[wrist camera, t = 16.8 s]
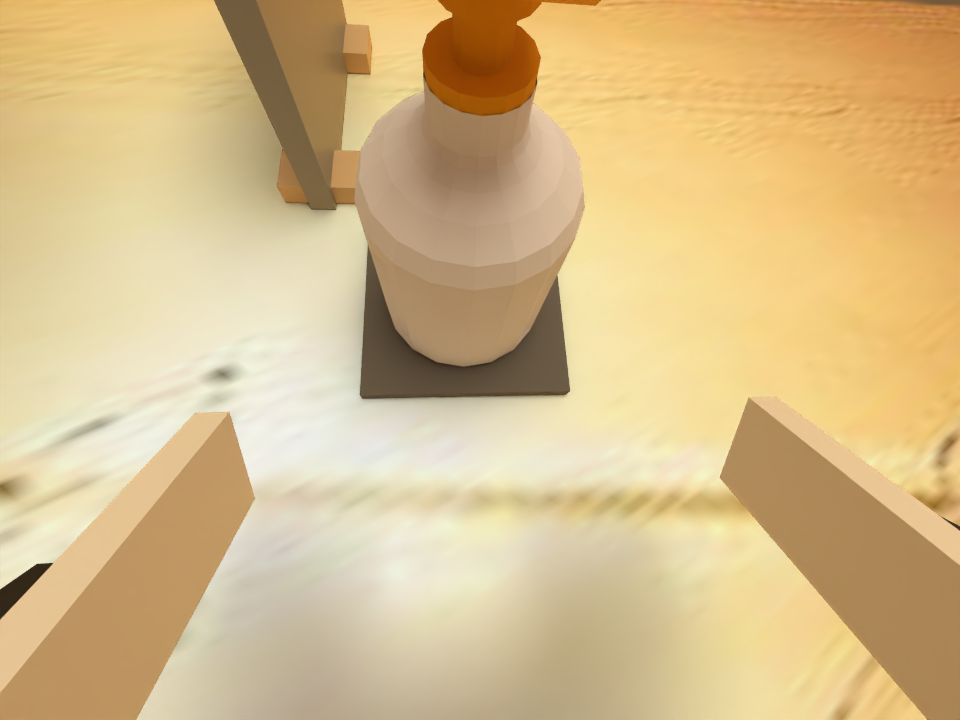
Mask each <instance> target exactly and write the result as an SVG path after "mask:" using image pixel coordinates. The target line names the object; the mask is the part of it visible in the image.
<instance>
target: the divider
mask: <svg viewBox="0 0 960 720" xmlns="http://www.w3.org/2000/svg"><path fill="white" fill-rule="evenodd" d="M214 1H215V3H216V6H217V8H218V10H219V12H220V14H221V16H222V18H223V21H224V23H225V25H226V27H227V29H228V31H229V33H230V36H231V38H232V40H233V42H234V44H235V46H236V49H237V51H238V53H239V55H240V57H241V59H242V61H243V63H244V66H245V68H246V70H247V72H248V74H249V76H250V79H251V81H252V83H253V85H254V87H255V89H256V91H257V93H258V96H259V98H260V100H261V102H262V104H263V106H264V109H265V111H266V113H267V115H268V117H269V119H270V121H271V124H272V126H273V128H274V130H275V132H276V134H277V136H278V139H279V141H280V143H281V145H282V147H283V149H282V155H281V162H280V169H279V176H278V183H277V187H278V189H279V191H280V192H281V194H282V196H283V198H284V200H285V202H301V203H309V205H310V207H311V209H336V203H352V204H355V201H354V198H355V186H356V175H357V166H358V161H359V157H360V153H361V152H360V151H341V144H342V132H343V120H344V108H345V97H346V85H347V73H362V74H370V68H371V52H372V44H371V38H370V32H369V26H367V25H349V24H347V23H346V18H345V13H344V8H343V4H342V0H214Z"/></svg>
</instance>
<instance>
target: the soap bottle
mask: <svg viewBox="0 0 960 720" xmlns="http://www.w3.org/2000/svg"><path fill="white" fill-rule="evenodd" d="M438 1H439V2H440V3H441V4H442V5H443V6H444V8H445V9H446V10H448V11H450V12H451V13H452V18H449V19H447V20H444V21H441V22H440V23H439V24H438V25H437V26H436V27H435V28H433V29H432V30H431V31H430V32H429V33H428V34H427V37H426V40H425V43H424V47H423V50H422V53H423V71H424V72H423V78H424V91H423V92H421V93H418V94H415V95H413V96H411V97H409V98H406V99H404V100H402V101H401V102H400V103H399V104H397V105H396V106H395V107H394V108H392V109H391V110H390V111H389V112H387V113H386V114H385V115H384V116H382V117H381V118H380V119H379V120H377V122H376V124H375V126H374V127H373V129H372V131H371V133H370V134H369V136H368V138H367V140H366V141H365V143H364V145H363V147H362V149H361V153H360V157H359V161H358V166H357V175H356V186H355V198H354V201H355V204H356V207H357V210H358V214H359V217H360V220H361V223H362V227H363V230H364V233H365V236H366V239H367V243H368V246H369V249H370V252H371V255H372V259H373V262H374V265H375V268H376V272H377V275H378V278H379V281H380V284H381V288H382V291H383V294H384V297H385V300H386V304H387V307H388V310H389V312H390V315H391V318H392V321H393V324H394V327H395V329H396V330H397V332H398V333H399V334H400V335H401V336H402V337H403V339H404V340H405V341H406V342H407V343H408V344H409V345H410V347H411V348H412V349H414V350H415V351H417V352H419V353H421V354H423V355H424V356H426V357H428V358H430V359H432V360H433V361H435V362H439V363H444V364H450V365H456V366H462V367H466V366H472V365H478V364H483V363H489V362H492V361H494V360H496V359H498V358H499V357H501V356H503V355H505V354H507V353H508V352H510V351H512V350H514V349H515V348H516V346H517V345H518V344H519V343H520V342H521V340H522V339H523V338H524V337H525V336H526V334H527V333H528V332H529V331H530V329H531V327H532V325H533V323H534V321H535V319H536V317H537V315H538V313H539V311H540V309H541V307H542V305H543V303H544V301H545V299H546V297H547V295H548V293H549V291H550V288H551V286H552V284H553V282H554V280H555V278H556V276H557V274H558V272H559V270H560V268H561V266H562V264H563V262H564V260H565V258H566V256H567V254H568V252H569V250H570V248H571V246H572V244H573V242H574V240H575V237H576V234H577V230H578V227H579V224H580V221H581V217H582V214H583V211H584V208H585V206H584V192H583V182H582V174H581V166H580V158H579V156H578V154H577V152H576V150H575V149H574V147H573V145H572V143H571V141H570V140H569V138H568V136H567V134H566V132H565V131H564V129H563V128H562V127H561V126H559V125H558V124H557V123H556V122H555V121H554V120H553V119H552V118H550V117H549V116H548V115H547V114H546V113H545V112H544V111H543V110H541V109H540V108H539V107H538V106H537V105H535V104H534V103H533V100H534V95H535V91H536V86H537V75H538V69H539V64H540V58H541V57H540V54H539V51H538V49H537V46H536V43H535V41H534V40H533V39H532V38H531V37H530V36H529V35H528V34H527V33H526V32H525V31H524V29H523V28H522V27H520V26H518V25H516V24H517V21H519V20H521V19H523V18H526V17H528V16H530V15H531V14H532V13H533V12H534V11H535V10H536V9H537V8H538V7H539V6H540V4H541V2H551V3H565V4H579V5H594V6H596V5H597V4H598V3H599V2H600V1H601V0H438Z"/></svg>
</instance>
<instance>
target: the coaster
mask: <svg viewBox="0 0 960 720" xmlns="http://www.w3.org/2000/svg"><path fill="white" fill-rule="evenodd" d="M568 392H570V387H569V377H568V368H567V359H566V350H565V341H564V332H563V322H562V313H561V304H560V295H559V286H558V277H557V276H556V278H555V280H554V282H553V284H552V286H551V288H550V291H549V293H548V295H547V297H546V299H545V301H544V303H543V305H542V307H541V309H540V311H539V313H538V315H537V317H536V319H535V321H534V323H533V325H532V327H531V329H530V331H529V332H528V333H527V334H526V336H525V337H524V338H523V339H522V340H521V342H520V343H519V344H518V345H517V346H516V348H515V349H514V350H512V351H510V352H508V353H507V354H505V355H503V356H501V357H499V358H498V359H496V360H494V361H492V362H489V363H483V364H478V365H472V366H466V367H462V366H456V365H450V364H444V363H439V362H435V361H433V360H432V359H430V358H428V357H426V356H424V355H423V354H421V353H419V352H417V351H415V350H414V349H412V348H411V347H410V345H409V344H408V343H407V342H406V341H405V340H404V339H403V337H402V336H401V335H400V334H399V333H398V332H397V330H396V329H395V327H394V324H393V321H392V318H391V315H390V312H389V310H388V307H387V304H386V300H385V297H384V294H383V291H382V288H381V284H380V281H379V278H378V275H377V272H376V268H375V265H374V262H373V259H372V255H371V252H370V249H369V246H368V256H367V275H366V293H365V312H364V330H363V349H362V368H361V386H360V396H361V397H362V398H406V397H457V396H508V395H560V394H567V393H568Z"/></svg>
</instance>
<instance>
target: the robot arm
mask: <svg viewBox="0 0 960 720" xmlns="http://www.w3.org/2000/svg"><path fill="white" fill-rule="evenodd" d="M720 479H721V480H722V481H723V482H724V483H725V484H726V486H727V487H728V488H729V489H730V490H731V491H732V493H733V494H734V495H735V496H736V497H737V498H738V499H739V501H740V502H741V503H742V504H743V505H744V506H745V508H746V509H747V510H748V511H749V512H750V513H751V515H752V516H753V517H754V518H755V519H756V520H757V522H758V523H759V524H760V525H761V526H762V527H763V529H764V530H765V531H766V532H767V533H768V534H769V536H770V537H771V538H772V539H773V540H774V541H775V543H776V544H777V545H778V546H779V547H780V548H781V550H782V551H783V552H784V553H785V554H786V555H787V557H788V558H789V559H790V560H791V561H792V562H793V564H794V565H795V566H796V567H797V568H798V569H799V571H800V572H801V573H802V574H803V575H804V576H805V578H806V579H807V580H808V581H809V582H810V583H811V585H812V586H813V587H814V588H815V589H816V590H817V592H818V593H819V594H820V595H821V596H822V597H823V598H824V600H825V601H826V602H827V603H828V604H829V605H830V607H831V608H832V609H833V610H834V611H835V612H836V614H837V615H838V616H839V617H840V618H841V619H842V621H843V622H844V623H845V624H846V625H847V626H848V628H849V629H850V630H851V631H852V632H853V633H854V635H855V636H856V637H857V638H858V639H859V640H860V642H861V643H862V644H863V645H864V646H865V647H866V649H867V650H868V651H869V652H870V653H871V654H872V656H873V657H874V658H875V659H876V660H877V661H878V663H879V664H880V665H881V666H882V667H883V668H884V670H885V671H886V672H887V673H888V674H889V675H890V677H891V678H892V679H893V680H894V681H895V682H896V684H897V685H898V686H899V687H900V688H901V689H902V691H903V692H904V693H905V694H906V695H907V696H908V697H909V699H910V700H911V701H912V702H913V703H914V704H915V706H916V707H917V708H918V709H919V710H920V711H921V713H922V714H923V715H924V716H925V717H926V718H927V720H960V526H958V525H956V524H954V523H952V522H950V521H948V520H947V519H945V518H943V517H941V516H939V515H937V514H936V513H935V512H933V511H932V510H931V509H929V508H928V507H926V506H925V505H924V504H922V503H921V502H920V501H918V500H917V499H915V498H914V497H913V496H911V495H910V494H909V493H907V492H906V491H904V490H903V489H902V488H900V487H899V486H898V485H896V484H895V483H893V482H892V481H891V480H889V479H888V478H887V477H885V476H884V475H883V474H881V473H880V472H878V471H877V470H876V469H874V468H873V467H872V466H870V465H869V464H867V463H866V462H865V461H863V460H862V459H861V458H859V457H858V456H856V455H855V454H854V453H852V452H851V451H850V450H848V449H847V448H845V447H844V446H843V445H841V444H840V443H839V442H837V441H836V440H834V439H833V438H832V437H830V436H829V435H828V434H826V433H825V432H823V431H822V430H821V429H819V428H818V427H817V426H815V425H814V424H813V423H811V422H810V421H808V420H807V419H806V418H804V417H803V416H802V415H800V414H799V413H797V412H796V411H795V410H793V409H792V408H791V407H789V406H788V405H786V404H785V403H784V402H782V401H781V400H780V399H778V398H777V397H749V398H748V401H747V404H746V406H745V409H744V412H743V415H742V417H741V420H740V423H739V426H738V428H737V431H736V434H735V437H734V439H733V442H732V445H731V448H730V450H729V453H728V456H727V459H726V461H725V464H724V467H723V470H722V473H721V475H720ZM254 499H255V497H254V494H253V490H252V487H251V484H250V480H249V477H248V474H247V470H246V467H245V463H244V460H243V457H242V453H241V450H240V446H239V443H238V440H237V436H236V433H235V430H234V426H233V423H232V419H231V416H230V413H229V412H211V413H195V414H194V415H193V416H192V417H191V418H190V419H189V420H188V421H187V422H186V423H185V424H184V425H183V427H182V428H181V429H180V430H179V431H178V432H177V433H176V434H175V435H174V436H173V437H172V438H171V439H170V440H169V441H168V442H167V444H166V445H165V446H164V447H163V448H162V449H161V450H160V451H159V452H158V453H157V454H156V455H155V456H154V457H153V458H152V459H151V460H150V462H149V463H148V464H147V465H146V466H145V467H144V468H143V469H142V470H141V471H140V472H139V473H138V474H137V475H136V476H135V477H134V479H133V480H132V481H131V482H130V483H129V484H128V485H127V486H126V487H125V488H124V489H123V490H122V491H121V492H120V493H119V494H118V495H117V497H116V498H115V499H114V500H113V501H112V502H111V503H110V504H109V505H108V506H107V507H106V508H105V509H104V510H103V511H102V512H101V514H100V515H99V516H98V517H97V518H96V519H95V520H94V521H93V522H92V523H91V524H90V525H89V526H88V527H87V528H86V529H85V530H84V532H83V533H82V534H81V535H80V536H79V537H78V538H77V539H76V540H75V541H74V542H73V543H72V544H71V545H70V546H69V547H68V549H67V550H66V551H65V552H64V553H63V554H62V555H61V556H60V557H59V558H58V559H57V560H56V561H55V562H54V563H45V564H36V565H35V566H33V567H32V568H30V569H29V570H28V571H26V572H25V573H23V574H22V575H20V576H19V577H18V578H16V579H15V580H13V581H12V582H10V583H9V584H7V585H6V586H5V587H3V588H2V589H0V720H136V719H137V717H138V715H139V713H140V711H141V709H142V708H143V706H144V704H145V702H146V700H147V698H148V696H149V695H150V693H151V691H152V689H153V687H154V685H155V683H156V682H157V680H158V678H159V676H160V674H161V672H162V670H163V669H164V667H165V665H166V663H167V661H168V659H169V657H170V656H171V654H172V652H173V650H174V648H175V646H176V644H177V642H178V641H179V639H180V637H181V635H182V633H183V631H184V629H185V628H186V626H187V624H188V622H189V620H190V618H191V616H192V615H193V613H194V611H195V609H196V607H197V605H198V603H199V602H200V600H201V598H202V596H203V594H204V592H205V590H206V589H207V587H208V585H209V583H210V581H211V579H212V577H213V575H214V574H215V572H216V570H217V568H218V566H219V564H220V562H221V561H222V559H223V557H224V555H225V553H226V551H227V549H228V548H229V546H230V544H231V542H232V540H233V538H234V536H235V535H236V533H237V531H238V529H239V527H240V525H241V523H242V522H243V520H244V518H245V516H246V514H247V512H248V510H249V509H250V507H251V505H252V503H253V501H254Z"/></svg>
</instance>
